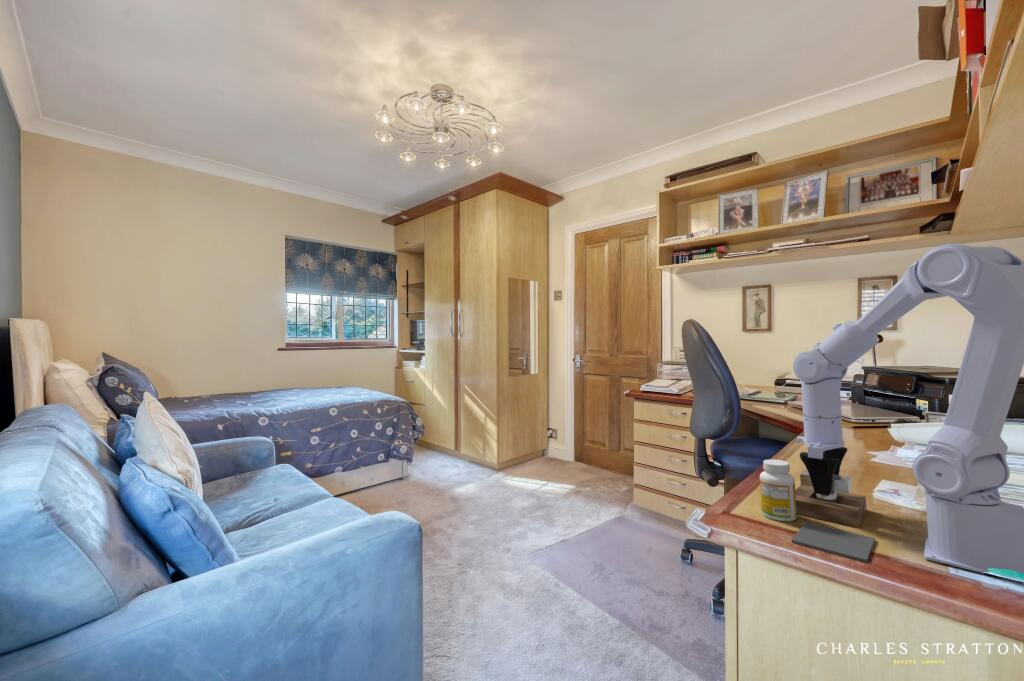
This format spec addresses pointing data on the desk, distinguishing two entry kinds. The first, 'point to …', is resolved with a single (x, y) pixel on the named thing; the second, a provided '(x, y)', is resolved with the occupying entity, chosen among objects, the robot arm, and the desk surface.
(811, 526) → the charcoal mat
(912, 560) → the desk surface
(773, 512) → the supplement bottle
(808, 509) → the socket block
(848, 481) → the steel t key
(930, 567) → the desk surface
